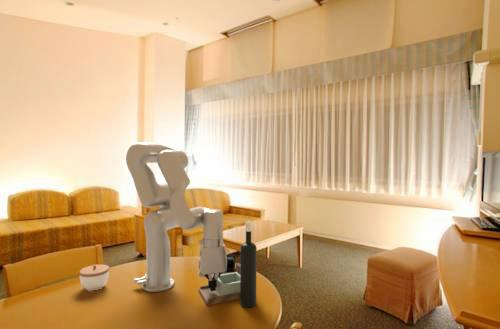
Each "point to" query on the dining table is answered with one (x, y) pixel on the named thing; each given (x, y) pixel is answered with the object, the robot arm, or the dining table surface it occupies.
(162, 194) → the robot arm
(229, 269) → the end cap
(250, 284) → the wine bottle
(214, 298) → the rail board
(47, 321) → the dining table surface
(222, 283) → the socket block
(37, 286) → the dining table surface
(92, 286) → the lidded jar
